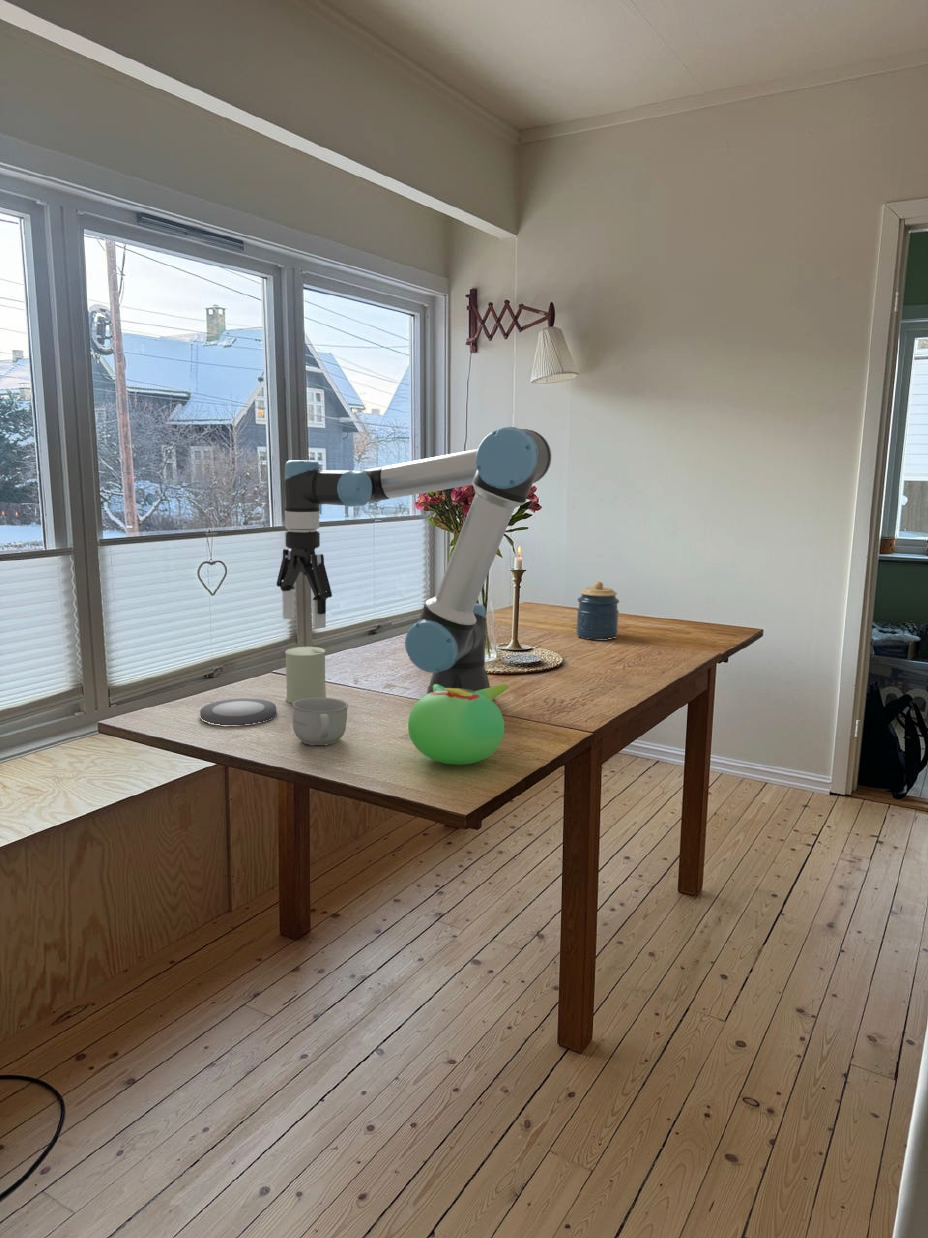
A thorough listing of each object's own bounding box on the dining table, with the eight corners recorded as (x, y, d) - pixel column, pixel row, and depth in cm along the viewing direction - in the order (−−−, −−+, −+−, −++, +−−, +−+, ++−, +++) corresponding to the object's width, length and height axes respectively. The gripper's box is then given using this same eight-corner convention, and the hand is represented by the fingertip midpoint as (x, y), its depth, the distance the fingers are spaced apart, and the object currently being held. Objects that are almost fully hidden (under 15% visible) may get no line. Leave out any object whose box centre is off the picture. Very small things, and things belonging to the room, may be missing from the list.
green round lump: (394, 768, 160) (394, 690, 157) (430, 740, 175) (430, 669, 173) (487, 782, 154) (488, 702, 151) (516, 752, 169) (518, 679, 166)
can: (318, 706, 198) (317, 654, 196) (279, 703, 200) (278, 652, 197) (332, 695, 207) (331, 645, 204) (295, 692, 209) (294, 643, 206)
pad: (289, 717, 189) (289, 710, 189) (220, 731, 179) (220, 724, 179) (254, 700, 201) (254, 694, 201) (188, 713, 191) (187, 706, 191)
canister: (576, 631, 283) (578, 577, 280) (616, 633, 282) (619, 579, 278) (575, 640, 271) (577, 583, 267) (618, 642, 269) (620, 585, 266)
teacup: (296, 733, 179) (295, 695, 178) (349, 732, 180) (349, 694, 178) (288, 756, 165) (287, 715, 164) (346, 755, 166) (345, 715, 165)
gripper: (347, 534, 189) (347, 630, 193) (289, 524, 207) (290, 612, 212) (317, 535, 184) (318, 634, 188) (260, 526, 203) (262, 616, 207)
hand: (303, 623), depth 200 cm, fingers open, 13 cm apart
